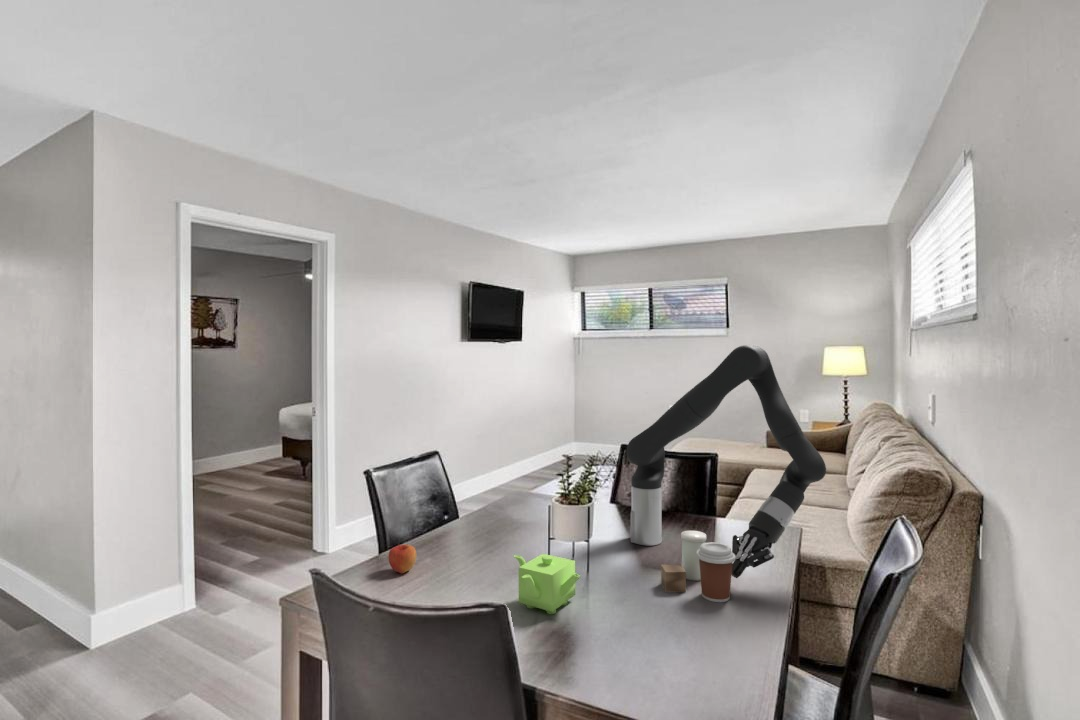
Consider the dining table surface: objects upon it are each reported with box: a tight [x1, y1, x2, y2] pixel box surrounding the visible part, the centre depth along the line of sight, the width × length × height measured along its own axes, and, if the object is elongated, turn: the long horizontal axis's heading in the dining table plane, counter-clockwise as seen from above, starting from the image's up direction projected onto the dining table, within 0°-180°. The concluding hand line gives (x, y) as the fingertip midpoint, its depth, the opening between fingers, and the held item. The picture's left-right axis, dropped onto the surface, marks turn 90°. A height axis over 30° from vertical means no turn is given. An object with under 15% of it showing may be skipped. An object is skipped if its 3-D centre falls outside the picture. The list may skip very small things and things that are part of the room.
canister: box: [680, 530, 707, 581], centre depth 150 cm, size 6×6×11 cm
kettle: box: [513, 553, 581, 615], centre depth 133 cm, size 15×14×11 cm
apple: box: [388, 543, 417, 575], centre depth 153 cm, size 7×7×8 cm
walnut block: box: [660, 563, 687, 593], centre depth 142 cm, size 5×5×5 cm
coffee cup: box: [696, 541, 736, 603], centre depth 137 cm, size 9×9×12 cm
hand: (732, 575), depth 139 cm, fingers closed
